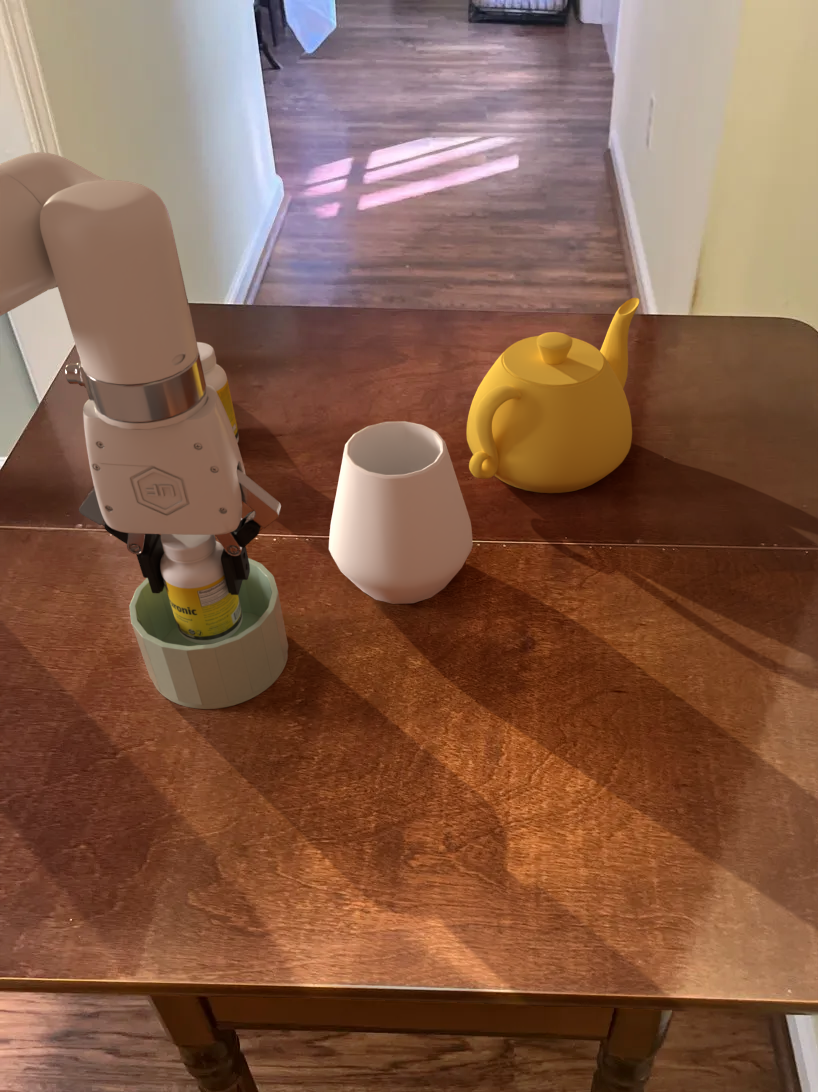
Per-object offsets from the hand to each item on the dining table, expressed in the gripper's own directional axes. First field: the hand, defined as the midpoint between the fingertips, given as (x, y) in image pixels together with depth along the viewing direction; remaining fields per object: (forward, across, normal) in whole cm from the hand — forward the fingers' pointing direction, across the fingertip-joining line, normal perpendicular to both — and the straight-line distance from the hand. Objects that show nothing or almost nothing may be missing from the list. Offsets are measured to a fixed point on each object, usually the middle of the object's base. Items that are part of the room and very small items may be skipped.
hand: (199, 581), depth 79 cm
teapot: (+9, +30, +33) cm, 46 cm away
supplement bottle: (+5, 0, 0) cm, 5 cm away
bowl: (+9, 0, 0) cm, 9 cm away
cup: (+9, +15, +12) cm, 21 cm away
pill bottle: (+9, -8, +33) cm, 35 cm away
